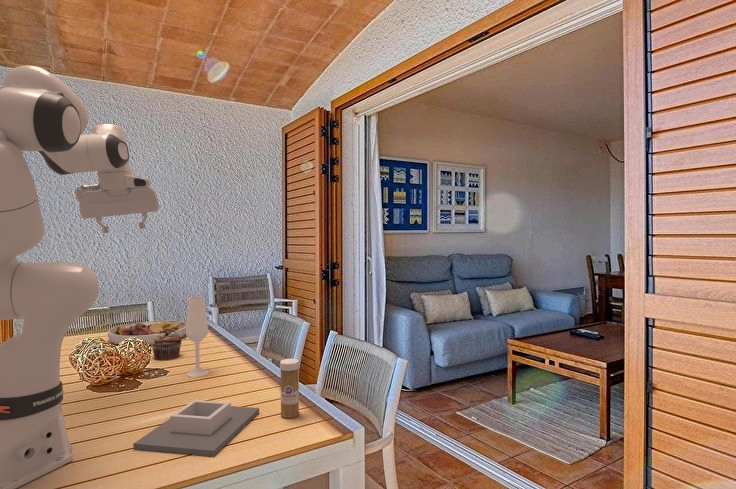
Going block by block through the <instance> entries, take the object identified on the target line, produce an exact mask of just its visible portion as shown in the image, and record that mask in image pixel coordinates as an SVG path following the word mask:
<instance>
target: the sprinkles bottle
mask: <svg viewBox="0 0 736 489" xmlns="http://www.w3.org/2000/svg"><path fill="white" fill-rule="evenodd" d="M279 370H280V417H282V418H284V419H293V418H297V417H298V416H299V414H300V411H299V410H300V407H299V405H300V404H299V403H300V402H299V400H300V392H299V391H300V389H299V388H300V387H299V386H300V384H299V370H300V361H299V359H297V358H285V359H281V360H280V362H279Z"/></svg>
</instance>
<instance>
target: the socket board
mask: <svg viewBox="0 0 736 489" xmlns="http://www.w3.org/2000/svg"><path fill="white" fill-rule="evenodd" d="M258 413H259V414H260V407H248V406H237V405H235V406H233V405H232V402H229V401H228V402H227V401H214V400H213V401H211V400H199V399H193V400H192V401H190V402H189V403H188V404H186V405H184V406H183V407H181V408H180V409H178V410H177V411H175V412H174V413H172V414H171V415H170V418H169V419H167V420H166V421H164V422H163V423H161V424H160V425H159V426H157V427H156V428H154V429H153V430H151V431H150V432H148V433H147V434H145V435H144V436H142V437H140V438H139V439H138V440H136V441H135V442H134V443H133V446H132V447H133V448H132V449H133V450H137V451H148V452H157V451H162V452H161V453H168V452H175V453H174V454H179V453H185V454H184V455H190V454H192V455H191V456H193V455H194V456H201V455H202V456H203V457H212V456H213V458H214V457H215V456H217V454H218V453H219V452H220V451H222V449H223V448H225V447H226V445H228V444H229V443H230V442H231V441H232V440H233V439H234V438H235V437H236V436H237V435H238V434H239V433H240V432H241V431H242V430H243V429H244V428H245V427H246V426H247V425H248V424H249V423H250V422H252V420H253V419H255V418H256V417H257V416H258V415H259V414H258ZM257 414H258V415H257ZM256 415H257V416H256ZM244 426H245V427H244ZM243 427H244V428H243ZM242 428H243V429H242ZM241 429H242V430H241ZM240 430H241V431H240ZM239 431H240V432H239ZM238 432H239V433H238ZM237 433H238V434H237ZM236 434H237V435H236ZM235 435H236V436H235ZM234 436H235V437H234ZM233 437H234V438H233ZM232 438H233V439H232ZM231 439H232V440H231ZM230 440H231V441H230ZM229 441H230V442H229Z"/></svg>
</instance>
